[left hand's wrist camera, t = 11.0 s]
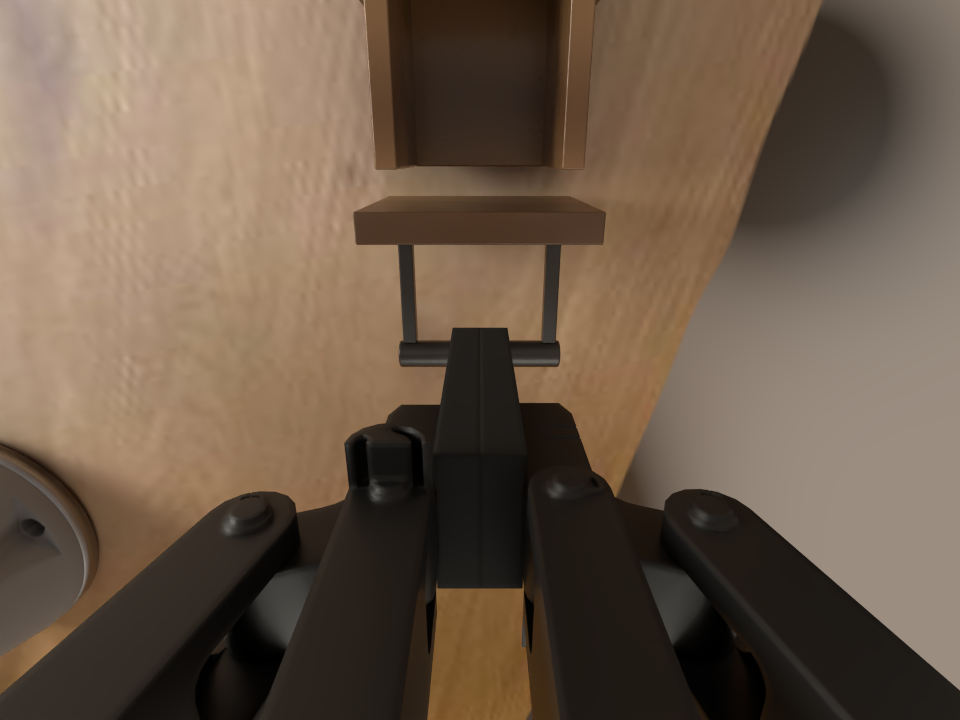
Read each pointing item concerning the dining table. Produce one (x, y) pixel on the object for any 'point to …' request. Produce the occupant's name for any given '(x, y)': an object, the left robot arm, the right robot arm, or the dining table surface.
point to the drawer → (479, 136)
